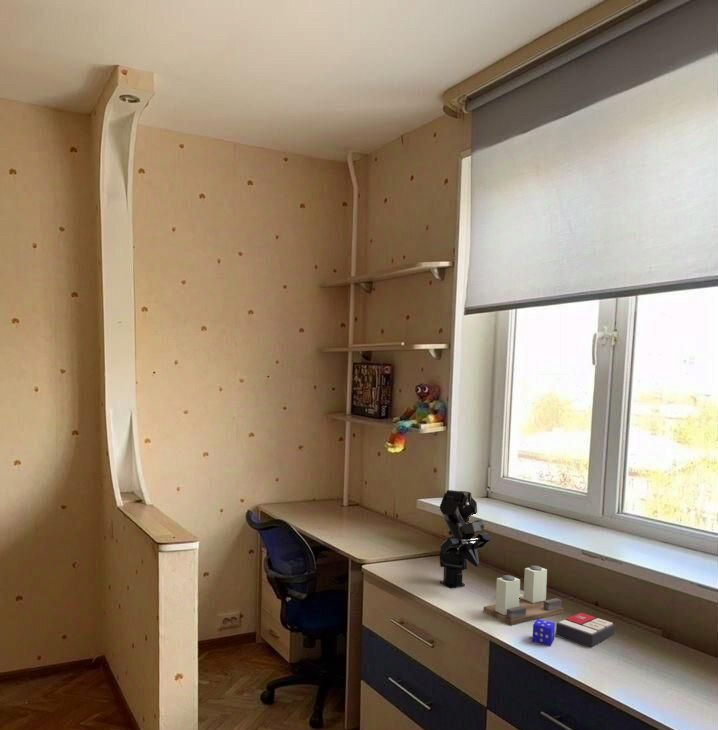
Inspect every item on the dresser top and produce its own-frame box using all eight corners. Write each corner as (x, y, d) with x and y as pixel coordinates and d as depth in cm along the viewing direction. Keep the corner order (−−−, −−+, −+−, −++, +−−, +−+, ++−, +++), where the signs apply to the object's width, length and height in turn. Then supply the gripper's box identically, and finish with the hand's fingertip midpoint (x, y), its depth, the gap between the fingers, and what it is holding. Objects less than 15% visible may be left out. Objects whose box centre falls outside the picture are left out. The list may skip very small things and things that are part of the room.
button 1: (495, 610, 195) (496, 576, 196) (509, 607, 199) (510, 573, 199) (504, 615, 192) (506, 580, 192) (518, 612, 195) (520, 577, 195)
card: (507, 593, 217) (507, 591, 217) (520, 590, 220) (520, 589, 220) (525, 601, 210) (525, 599, 210) (537, 598, 213) (538, 596, 213)
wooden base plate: (483, 611, 199) (483, 598, 199) (534, 600, 211) (535, 588, 211) (511, 625, 189) (511, 612, 189) (563, 613, 201) (564, 600, 201)
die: (550, 646, 176) (551, 628, 176) (532, 642, 178) (533, 624, 178) (554, 640, 180) (554, 622, 180) (536, 636, 182) (537, 618, 182)
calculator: (615, 622, 186) (592, 632, 176) (614, 637, 186) (591, 648, 176) (580, 611, 194) (556, 620, 184) (579, 625, 194) (555, 635, 184)
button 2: (523, 599, 207) (524, 566, 207) (536, 596, 210) (537, 564, 210) (532, 603, 204) (534, 570, 204) (545, 600, 207) (547, 567, 207)
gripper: (448, 513, 207) (470, 556, 198) (488, 509, 218) (511, 549, 208) (431, 532, 214) (451, 574, 204) (471, 527, 224) (492, 567, 215)
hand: (477, 565), depth 208 cm, fingers closed
